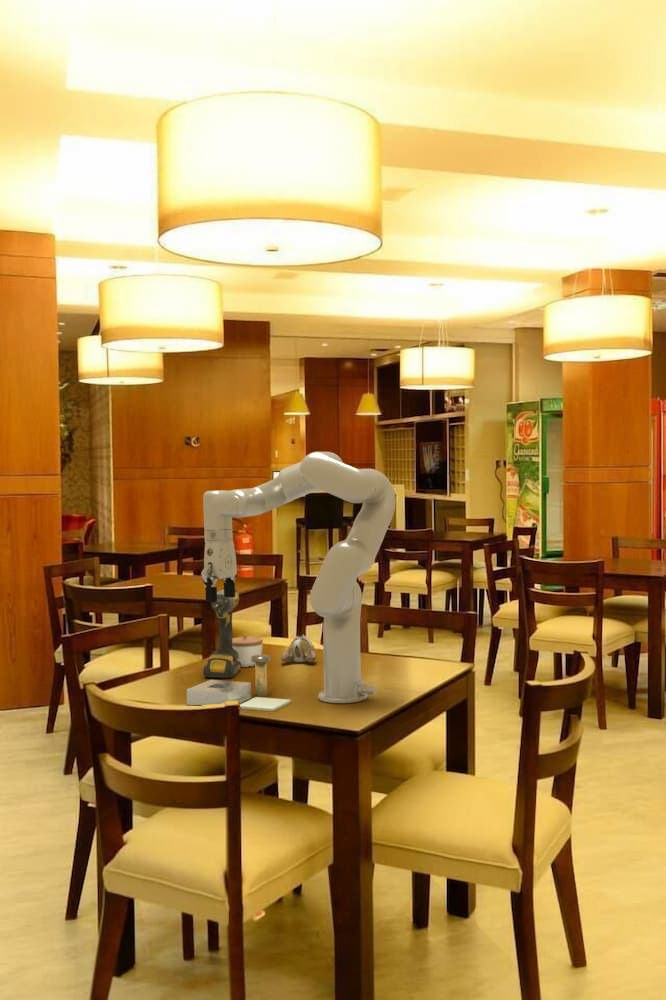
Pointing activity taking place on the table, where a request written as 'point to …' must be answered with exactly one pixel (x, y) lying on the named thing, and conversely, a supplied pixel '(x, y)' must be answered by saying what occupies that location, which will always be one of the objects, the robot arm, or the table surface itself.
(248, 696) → the plate
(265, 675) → the metal bolt
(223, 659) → the cordless drill
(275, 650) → the table surface
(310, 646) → the ceramic sculpture
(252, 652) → the lidded jar
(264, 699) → the mat
